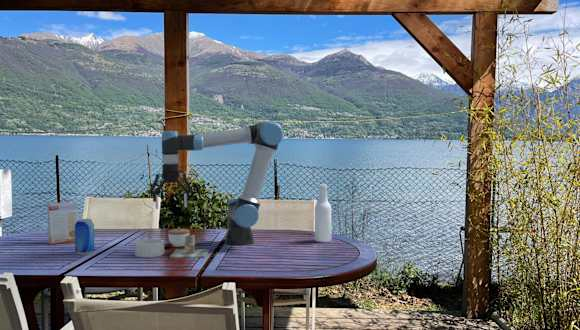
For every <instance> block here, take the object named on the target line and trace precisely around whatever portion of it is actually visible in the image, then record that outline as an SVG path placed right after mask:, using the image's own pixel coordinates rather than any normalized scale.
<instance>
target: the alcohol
mask: <svg viewBox="0 0 580 330" xmlns="http://www.w3.org/2000/svg"><path fill="white" fill-rule="evenodd" d="M327 188H328V184H327V183H326V184H325V183H324V184H323V183H322V184H321V183H320V184H319V191H318V192H319V194H318V201H317V203H316V204H315V206H314V241H316V242H317V243H330V242H331V241H332V205H331V204H330V202H329V201H328V200H329V199H328V189H327Z"/></svg>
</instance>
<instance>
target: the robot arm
mask: <svg viewBox="0 0 580 330" xmlns="http://www.w3.org/2000/svg"><path fill="white" fill-rule="evenodd" d="M283 138H284V129H283V127H282V126H281V125H280V124H279V123H277V122H275V121H271V120H269V121H263V122H260V123H257V124H252V125H246V127H244V128H235V129H226V130H219V131H212V132H211V131H209V132H201V133H193V134H179V132H178V131H177V130H164V131H162V132H161V163H163V164H162V165H161V166H162V168H161V171H162V173H160V174H159V173H156V174H155V177H154V181H153V183H152V185H151V186H150V189H149V191H148V194H149V195H152V202H154V203H155V209H156V210H158V209H159V195H158V193H159V192H160V190H161V189H162V188H163V187H164V185H166V183H167V184H175V183H176V184H178V186H179V187H180V188H181V189H182V190H183V191H184V193H183V203H184V204H183V207H184V208H187V207H188V201H189V200H190V197H189V195H190V193H192V192H193V188H192V187H191V185H190V183H189V181H188V179H187V177H186V173H185V172H182V173H180V172H179V152H181V151H182V152H183V151H186V152H187V151H191V152H192V151H194V152H197V151H202V150H203V149H206V148H207V149H208V148H214V147H215V148H216V147H223V146H230V145H231V146H232V145H238V144H246V143H247V144H248V145H254V147H255V149H254V150H255V151H254V154H253V158H252V160H251V161H252V162H251V164H250V167H249V171H248V174H247V177H246V180H245V183H244V187H243V191H242V194H241V195H239V196H238V197H237V198H231V199H229V200H228V202H227V216H228V217H227V218H228V219H227V220H228V221H227V223H228V226H227V231H226V234H225V236H224V243H225V244H227V245H235V246H244V245H250V244H253V243H255V237H254V234H253V231H252V227H253V226H255V225H256V224H257V222H258V220H259V217H260V212H259V210H260V206H261V202H260V200H259V199H260V196H261V193H262V189H263V185H264V182H265V179H266V175H267V172H268V169H269V166H270V164H271V160H272V156H273V154H274V153H276V152H277V150H278V147H279V144H281V142H282V140H283ZM180 177H181V178H182V180H183V181H184V184H185V185H186V187H185V186H184V185H183V183H182V182H181V181H180V180H179V178H180ZM161 178H162V181H161V182H160V183H159V184H158V186H157V183H158V182H159V180H160V179H161ZM156 186H157V187H156Z"/></svg>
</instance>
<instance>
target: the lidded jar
mask: <svg viewBox="0 0 580 330" xmlns="http://www.w3.org/2000/svg"><path fill="white" fill-rule="evenodd" d="M190 232H191V231H190V229H187V228H181V227H180V226H178V227H177V228H173V229H169V230H167V233H168V241H169V243H170V244H171V245H172V247H174V248H180V247H181V246H182V247H185V236H186V235H190Z"/></svg>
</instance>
